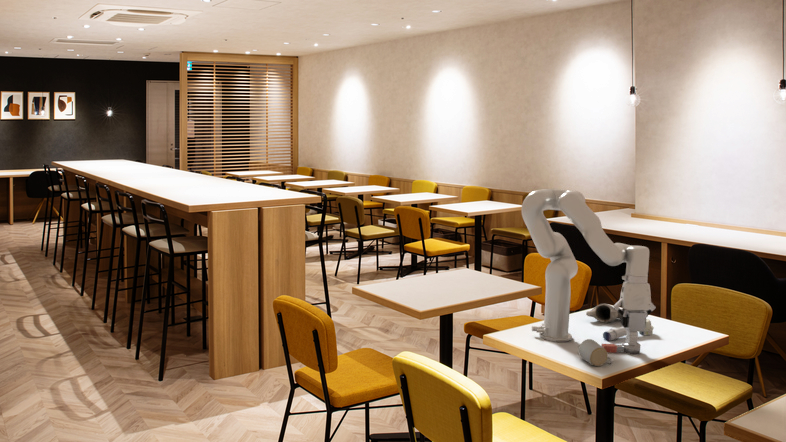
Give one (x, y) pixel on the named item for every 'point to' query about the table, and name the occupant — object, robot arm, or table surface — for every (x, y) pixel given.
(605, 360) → the ceramic mug
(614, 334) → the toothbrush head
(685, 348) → the table surface
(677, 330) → the table surface
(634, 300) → the robot arm
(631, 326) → the brushed grey cube
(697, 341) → the table surface
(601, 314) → the grey clay vessel
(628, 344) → the ratchet
